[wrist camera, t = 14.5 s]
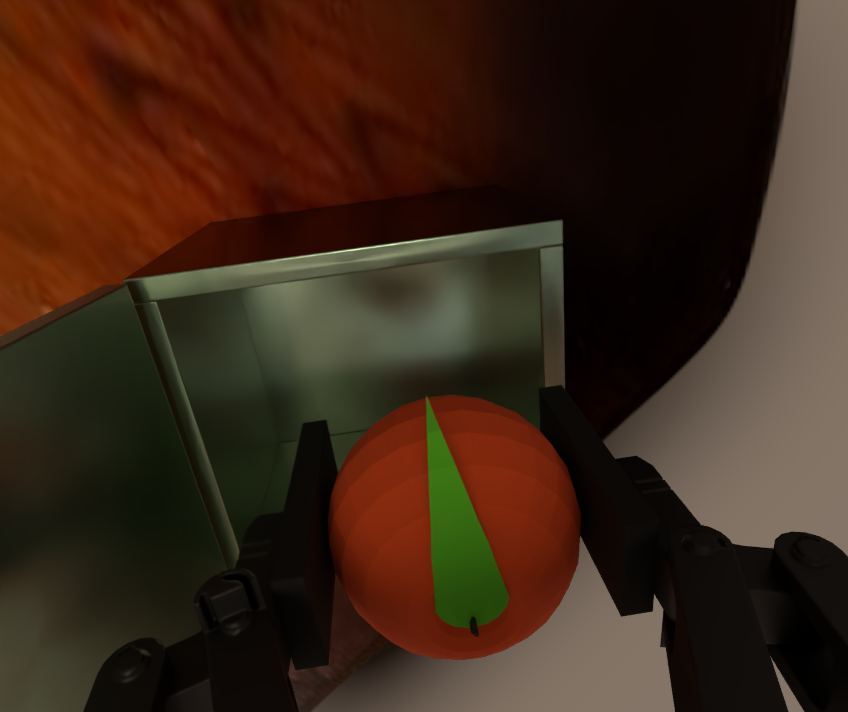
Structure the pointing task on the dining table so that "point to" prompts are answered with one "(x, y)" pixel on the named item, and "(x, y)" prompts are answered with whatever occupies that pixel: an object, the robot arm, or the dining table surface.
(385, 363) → the grey green storage bin
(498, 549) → the clementine
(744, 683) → the robot arm
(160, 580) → the bin lid
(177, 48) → the dining table surface
